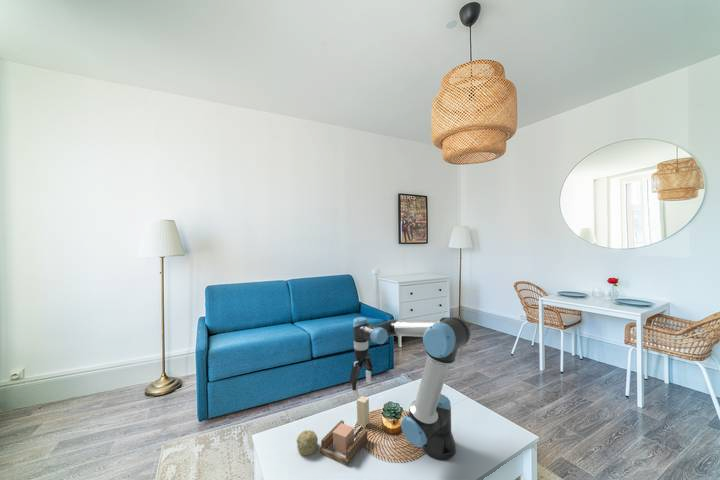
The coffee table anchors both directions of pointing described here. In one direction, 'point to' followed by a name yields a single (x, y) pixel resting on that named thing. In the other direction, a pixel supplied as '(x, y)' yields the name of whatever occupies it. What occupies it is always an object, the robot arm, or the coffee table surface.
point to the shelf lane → (350, 452)
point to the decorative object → (307, 442)
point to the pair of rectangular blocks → (345, 433)
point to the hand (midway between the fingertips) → (362, 389)
